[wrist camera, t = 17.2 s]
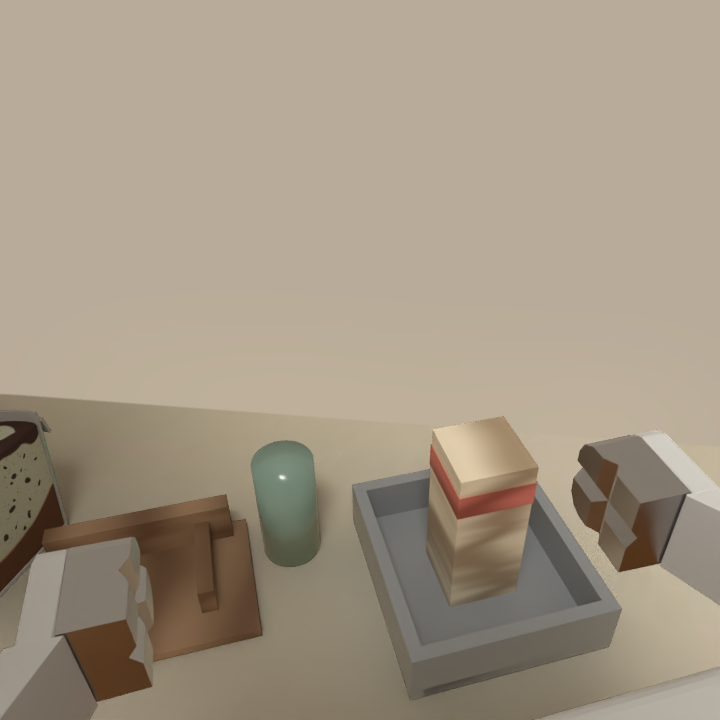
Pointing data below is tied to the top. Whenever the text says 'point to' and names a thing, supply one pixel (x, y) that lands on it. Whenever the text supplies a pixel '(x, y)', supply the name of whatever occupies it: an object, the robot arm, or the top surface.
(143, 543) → the walnut rack
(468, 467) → the birch block
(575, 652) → the grey tray
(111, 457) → the top surface
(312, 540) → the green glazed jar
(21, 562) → the food container
